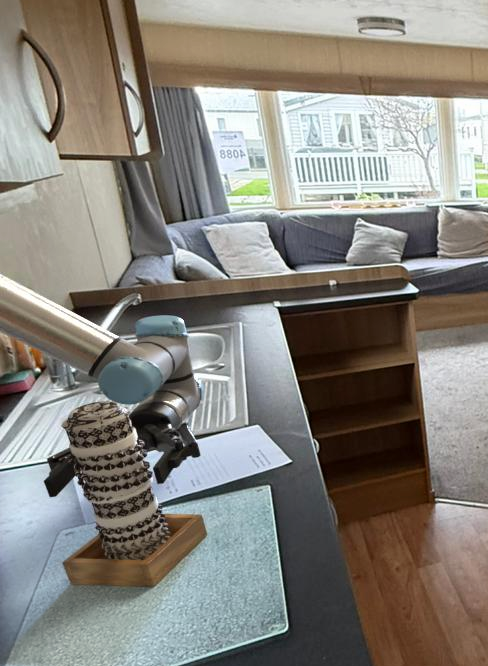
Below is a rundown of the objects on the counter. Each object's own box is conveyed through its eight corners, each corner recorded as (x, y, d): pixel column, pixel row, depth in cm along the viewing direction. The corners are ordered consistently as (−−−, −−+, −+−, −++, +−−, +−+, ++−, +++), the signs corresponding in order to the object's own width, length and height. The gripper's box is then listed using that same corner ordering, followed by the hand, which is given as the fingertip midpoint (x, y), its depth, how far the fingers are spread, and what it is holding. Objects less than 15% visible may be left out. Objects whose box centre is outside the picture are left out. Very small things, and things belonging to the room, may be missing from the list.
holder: (70, 584, 97) (61, 562, 95) (132, 532, 109) (125, 512, 107) (154, 586, 96) (147, 564, 95) (207, 534, 108) (202, 514, 107)
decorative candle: (96, 577, 97) (40, 426, 87) (117, 541, 105) (68, 400, 95) (166, 564, 99) (119, 416, 90) (181, 530, 107) (140, 392, 98)
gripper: (239, 431, 117) (206, 492, 98) (79, 449, 111) (11, 517, 92) (230, 393, 114) (195, 448, 95) (65, 409, 108) (-8, 471, 89)
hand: (104, 482), depth 93 cm, fingers open, 13 cm apart
